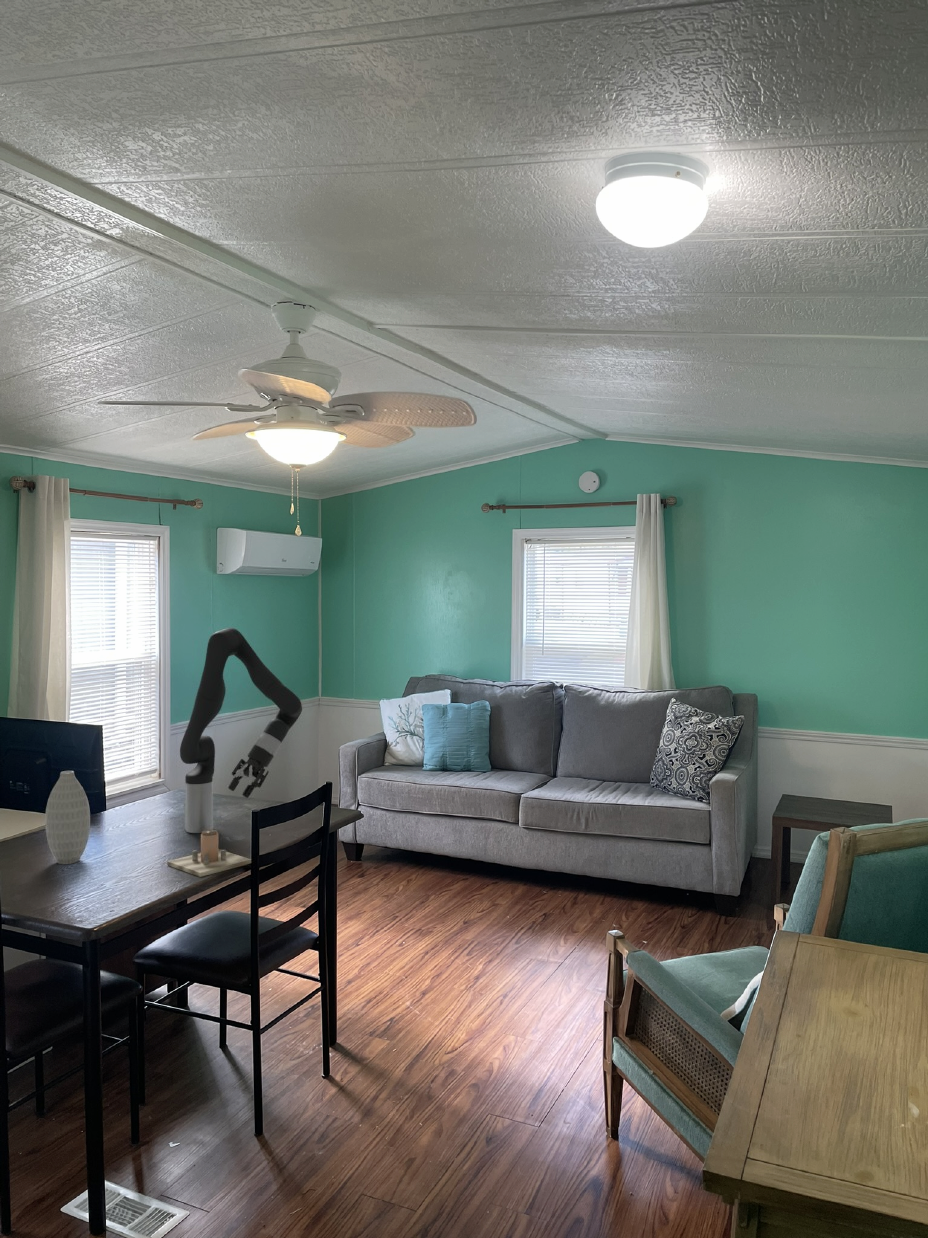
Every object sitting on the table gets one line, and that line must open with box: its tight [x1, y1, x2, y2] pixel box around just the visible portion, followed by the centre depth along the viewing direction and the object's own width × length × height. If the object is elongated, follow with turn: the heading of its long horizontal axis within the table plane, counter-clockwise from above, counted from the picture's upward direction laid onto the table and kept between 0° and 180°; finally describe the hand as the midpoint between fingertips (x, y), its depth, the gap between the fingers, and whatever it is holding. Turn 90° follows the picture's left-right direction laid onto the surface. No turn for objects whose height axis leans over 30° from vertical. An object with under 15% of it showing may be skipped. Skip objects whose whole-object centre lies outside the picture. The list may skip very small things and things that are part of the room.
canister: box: [200, 829, 219, 862], centre depth 280 cm, size 5×5×9 cm
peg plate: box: [166, 848, 252, 878], centre depth 280 cm, size 18×18×4 cm
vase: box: [44, 770, 91, 865], centre depth 283 cm, size 13×13×28 cm
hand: (237, 793), depth 292 cm, fingers open, 8 cm apart
